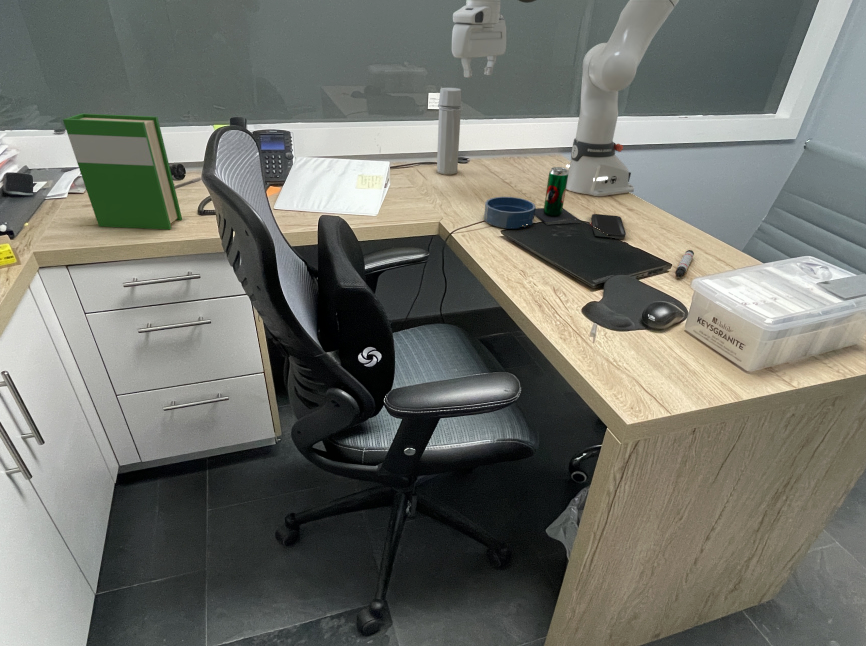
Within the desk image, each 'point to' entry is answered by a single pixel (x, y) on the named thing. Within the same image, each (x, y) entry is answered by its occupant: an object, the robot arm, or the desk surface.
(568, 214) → the black flat square pad
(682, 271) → the marker
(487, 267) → the desk surface
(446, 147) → the water bottle
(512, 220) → the dish
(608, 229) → the phone
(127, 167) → the hardback book
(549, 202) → the soda can
